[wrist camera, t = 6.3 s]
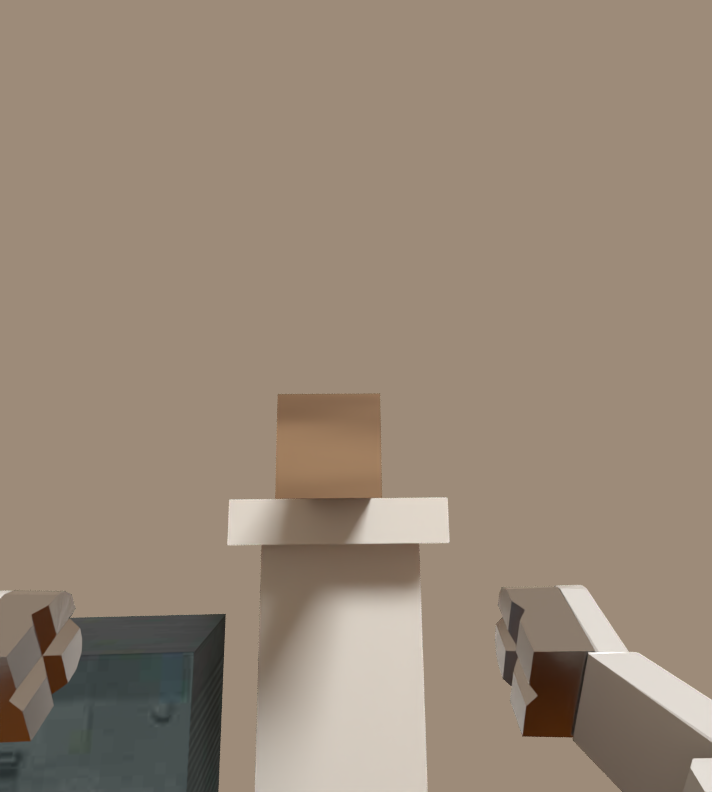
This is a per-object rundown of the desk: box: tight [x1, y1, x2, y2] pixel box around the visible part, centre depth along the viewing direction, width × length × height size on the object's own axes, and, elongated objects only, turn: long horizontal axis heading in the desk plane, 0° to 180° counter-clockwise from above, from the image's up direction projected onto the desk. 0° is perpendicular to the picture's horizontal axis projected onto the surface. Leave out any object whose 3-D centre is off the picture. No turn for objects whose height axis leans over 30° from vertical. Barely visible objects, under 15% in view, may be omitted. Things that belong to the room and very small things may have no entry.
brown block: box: [275, 394, 382, 499], centre depth 25 cm, size 22×3×3 cm, turn 0°
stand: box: [227, 498, 449, 792], centre depth 27 cm, size 14×12×26 cm
